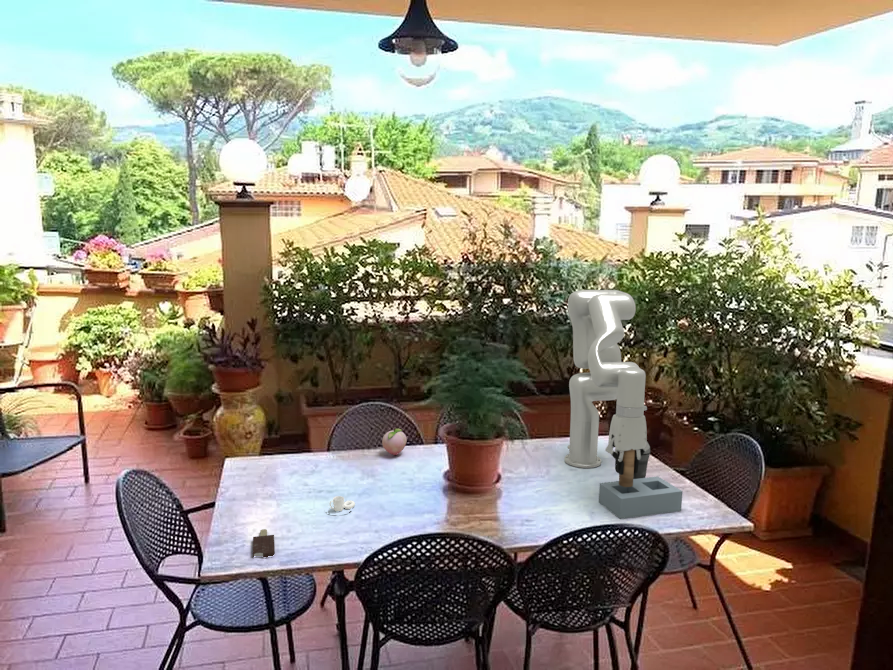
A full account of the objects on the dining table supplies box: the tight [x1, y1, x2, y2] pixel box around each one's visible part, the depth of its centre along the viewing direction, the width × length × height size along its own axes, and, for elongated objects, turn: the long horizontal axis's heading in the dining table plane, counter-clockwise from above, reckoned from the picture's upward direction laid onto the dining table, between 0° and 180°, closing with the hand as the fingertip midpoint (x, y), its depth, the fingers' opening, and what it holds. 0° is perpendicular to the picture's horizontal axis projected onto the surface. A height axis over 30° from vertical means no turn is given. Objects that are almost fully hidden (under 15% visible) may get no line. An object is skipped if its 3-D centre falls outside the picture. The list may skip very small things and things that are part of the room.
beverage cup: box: [633, 447, 651, 479], centre depth 210 cm, size 7×7×20 cm
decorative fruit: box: [381, 427, 408, 456], centre depth 237 cm, size 9×8×10 cm
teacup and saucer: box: [329, 495, 356, 512], centre depth 192 cm, size 9×8×4 cm
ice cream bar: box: [252, 528, 276, 558], centre depth 171 cm, size 5×2×15 cm
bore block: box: [598, 475, 684, 520], centre depth 196 cm, size 12×20×6 cm, turn 107°
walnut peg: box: [618, 449, 635, 487], centre depth 193 cm, size 4×4×12 cm
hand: (626, 471), depth 193 cm, fingers closed on walnut peg, 4 cm apart
